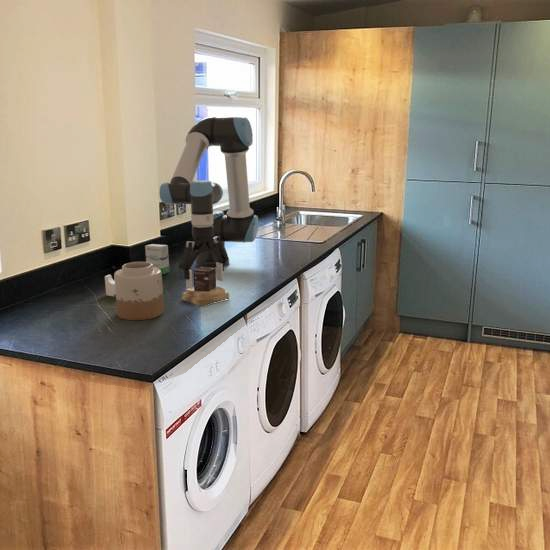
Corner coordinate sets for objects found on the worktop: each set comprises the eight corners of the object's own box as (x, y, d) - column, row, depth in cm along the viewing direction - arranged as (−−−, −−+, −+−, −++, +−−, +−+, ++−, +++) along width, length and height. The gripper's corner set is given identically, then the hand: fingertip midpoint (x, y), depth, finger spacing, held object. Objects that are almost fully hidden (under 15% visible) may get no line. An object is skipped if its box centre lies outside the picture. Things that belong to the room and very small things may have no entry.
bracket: (122, 298, 223) (120, 278, 221) (106, 296, 225) (104, 276, 223) (142, 288, 234) (141, 269, 232) (127, 287, 237) (126, 268, 235)
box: (193, 290, 216) (192, 270, 214) (201, 285, 222) (201, 266, 220) (208, 291, 214) (208, 271, 212) (216, 287, 219) (216, 267, 218)
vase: (124, 306, 212) (120, 259, 208) (167, 306, 211) (165, 259, 207) (111, 320, 197) (107, 270, 193) (158, 320, 197) (155, 270, 192)
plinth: (182, 299, 219) (181, 288, 218) (208, 292, 227) (208, 282, 226) (202, 306, 211) (201, 295, 210) (229, 299, 219) (228, 288, 218)
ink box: (170, 272, 258) (168, 244, 255) (163, 274, 254) (161, 247, 251) (153, 270, 262) (151, 243, 259) (146, 272, 257) (144, 245, 254)
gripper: (179, 231, 201) (182, 293, 206) (237, 222, 218) (238, 279, 223) (166, 228, 206) (169, 289, 212) (223, 219, 223) (225, 275, 228)
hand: (205, 284), depth 217 cm, fingers open, 13 cm apart
